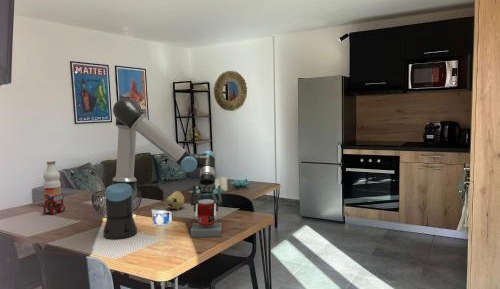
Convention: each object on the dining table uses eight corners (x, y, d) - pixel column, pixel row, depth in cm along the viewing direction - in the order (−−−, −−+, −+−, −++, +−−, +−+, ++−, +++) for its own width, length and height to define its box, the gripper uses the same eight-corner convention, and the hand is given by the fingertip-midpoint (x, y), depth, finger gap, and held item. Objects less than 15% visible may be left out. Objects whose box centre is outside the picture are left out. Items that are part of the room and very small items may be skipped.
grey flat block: (190, 237, 169) (190, 230, 169) (193, 229, 181) (193, 223, 181) (220, 236, 170) (220, 230, 169) (221, 228, 182) (221, 222, 181)
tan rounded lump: (162, 210, 216) (161, 193, 216) (174, 206, 227) (173, 189, 227) (176, 212, 213) (175, 194, 212) (187, 207, 224) (187, 190, 223)
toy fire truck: (40, 214, 210) (39, 197, 209) (59, 209, 222) (58, 192, 221) (48, 216, 207) (47, 198, 207) (67, 210, 219) (66, 193, 218)
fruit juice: (63, 205, 231) (60, 161, 229) (46, 208, 225) (43, 163, 223) (60, 203, 239) (58, 160, 236) (43, 205, 233) (41, 161, 231)
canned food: (211, 226, 170) (211, 203, 170) (195, 225, 172) (195, 202, 171) (216, 221, 178) (216, 199, 177) (201, 220, 180) (200, 198, 179)
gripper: (227, 181, 189) (228, 220, 175) (187, 181, 188) (184, 221, 174) (227, 172, 184) (227, 212, 169) (186, 173, 183) (182, 213, 168)
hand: (205, 217), depth 171 cm, fingers closed on canned food, 8 cm apart
